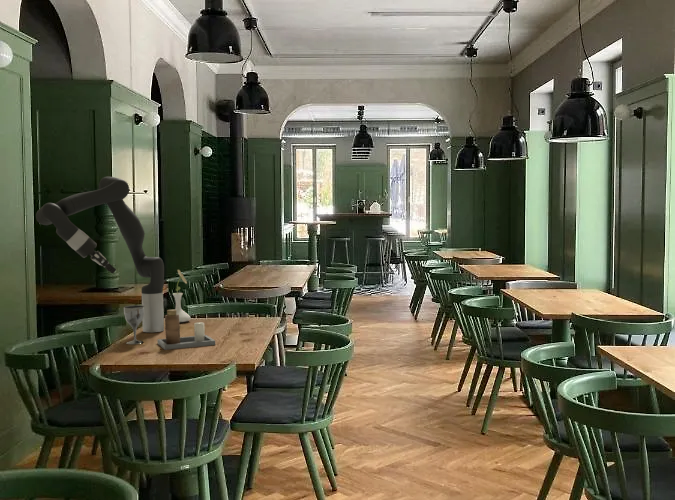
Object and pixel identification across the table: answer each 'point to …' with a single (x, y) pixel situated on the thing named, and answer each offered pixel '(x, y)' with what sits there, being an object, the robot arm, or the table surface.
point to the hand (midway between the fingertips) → (112, 270)
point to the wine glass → (134, 319)
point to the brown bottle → (172, 327)
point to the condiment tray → (186, 343)
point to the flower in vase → (182, 315)
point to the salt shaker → (199, 331)
